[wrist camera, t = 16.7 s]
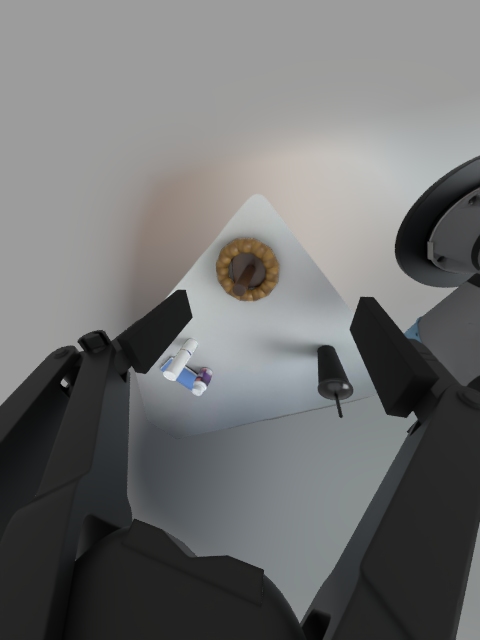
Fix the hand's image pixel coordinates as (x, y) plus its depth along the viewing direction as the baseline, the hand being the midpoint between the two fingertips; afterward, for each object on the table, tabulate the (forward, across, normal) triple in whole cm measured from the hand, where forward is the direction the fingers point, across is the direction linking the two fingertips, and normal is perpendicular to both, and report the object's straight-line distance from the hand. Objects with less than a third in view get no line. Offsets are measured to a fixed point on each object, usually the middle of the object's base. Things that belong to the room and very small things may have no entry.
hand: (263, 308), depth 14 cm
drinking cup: (+32, +15, -32) cm, 48 cm away
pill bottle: (+32, -27, -50) cm, 65 cm away
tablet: (+32, -38, -54) cm, 73 cm away
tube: (+32, -30, -35) cm, 56 cm away
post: (+32, -7, -7) cm, 33 cm away
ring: (+29, -8, -7) cm, 31 cm away
